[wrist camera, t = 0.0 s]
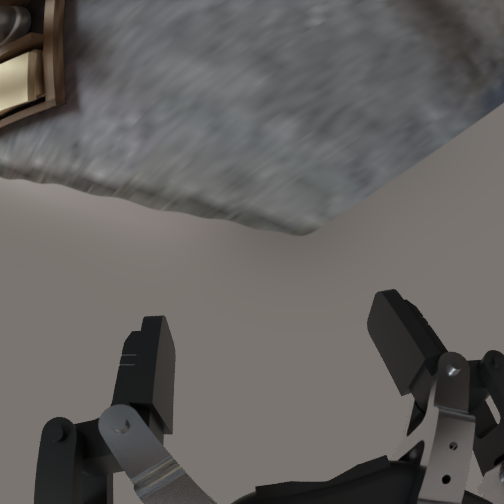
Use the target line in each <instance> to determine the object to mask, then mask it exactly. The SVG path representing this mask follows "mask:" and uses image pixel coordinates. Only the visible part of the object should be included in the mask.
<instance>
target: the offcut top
mask: <svg viewBox="0 0 504 504" xmlns="http://www.w3.org/2000/svg"><path fill="white" fill-rule="evenodd" d="M36 57H37V53H34V52H27V53H25V54H22V55H20V56H18V57H15V58H13V59H11V60H8V61H6V62H4V63H2V64H0V112H1V111H4V110H7V109H9V108H12V107H15V106H18V105H21V104H24V103H27V102H30V101H33V100H36Z"/></svg>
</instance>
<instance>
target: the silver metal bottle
mask: <svg viewBox="0 0 504 504" xmlns="http://www.w3.org/2000/svg"><path fill="white" fill-rule="evenodd" d="M30 25H31V14H30V12H29V11H28V10H27V9H25V8H24V7H21V6H10V7H8V6H0V48H3V47H5V46H7V45H8V44H10V43H12V42H14V41H16V40H17V39H19V38H21V37H23V36H25V35H26V34H27V32H28V30H29V28H30Z"/></svg>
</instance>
